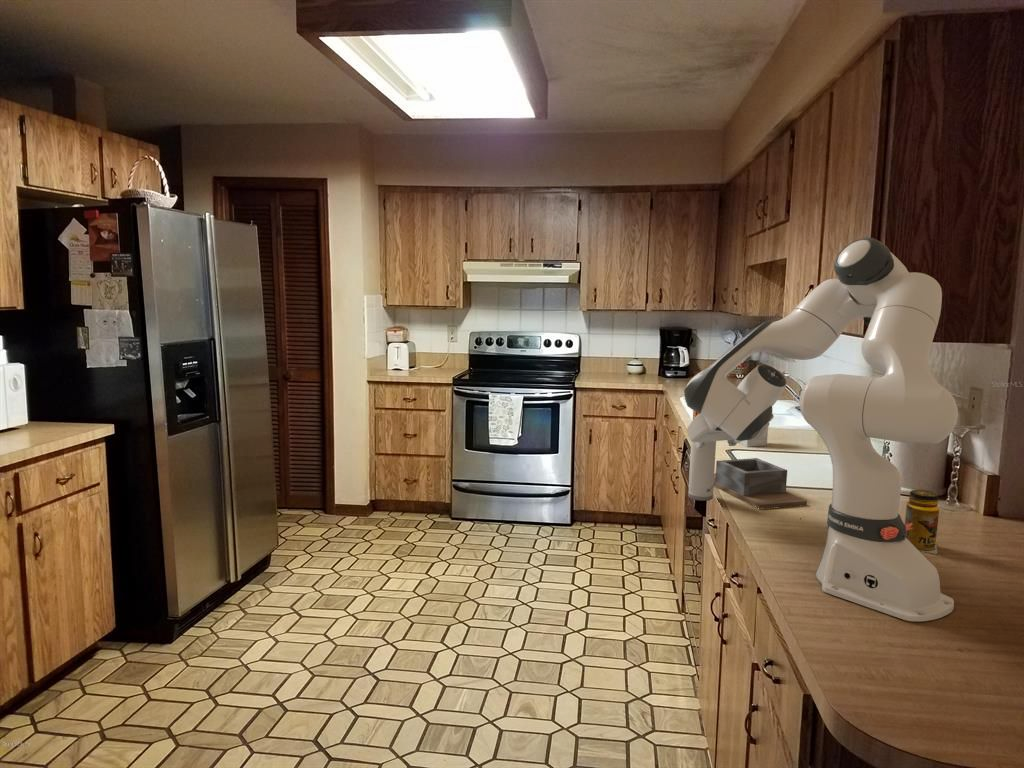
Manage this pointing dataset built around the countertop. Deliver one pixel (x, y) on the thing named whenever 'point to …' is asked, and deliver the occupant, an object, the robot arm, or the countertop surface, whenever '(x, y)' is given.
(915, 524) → the condiment
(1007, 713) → the countertop surface
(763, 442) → the skincare box
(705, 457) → the travel mug
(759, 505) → the grey box on board
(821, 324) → the robot arm
